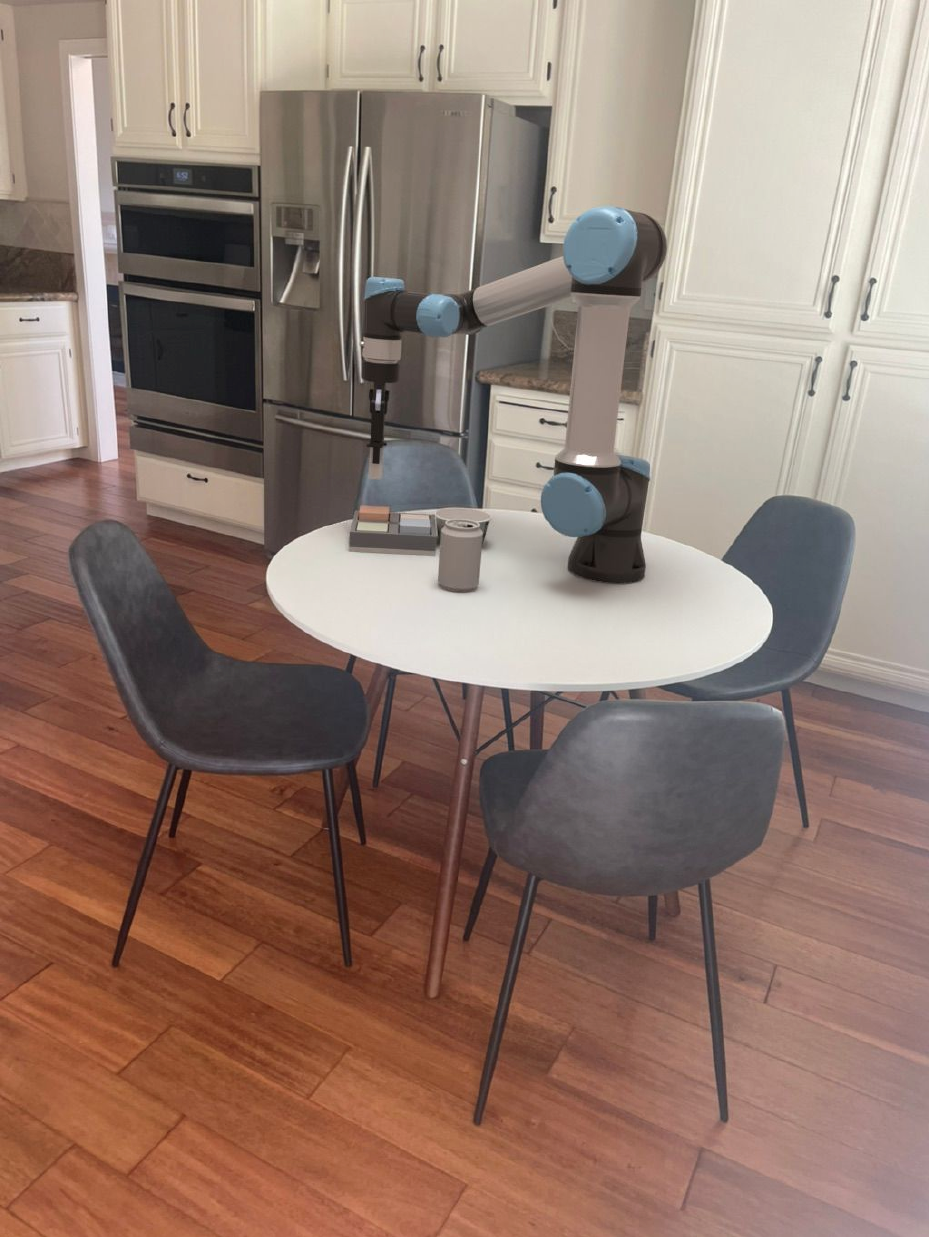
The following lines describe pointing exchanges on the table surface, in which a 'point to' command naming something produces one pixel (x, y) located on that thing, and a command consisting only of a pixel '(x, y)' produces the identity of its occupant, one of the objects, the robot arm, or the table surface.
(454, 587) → the can
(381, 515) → the key
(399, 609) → the table surface
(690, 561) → the table surface
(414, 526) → the key
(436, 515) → the food container
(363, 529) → the key
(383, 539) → the keypad
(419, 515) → the key
